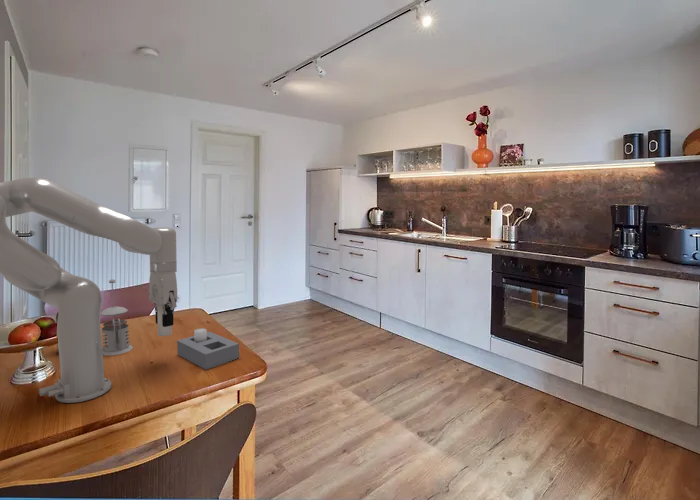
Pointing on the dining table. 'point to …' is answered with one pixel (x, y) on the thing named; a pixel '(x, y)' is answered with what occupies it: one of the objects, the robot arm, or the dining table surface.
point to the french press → (115, 331)
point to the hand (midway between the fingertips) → (164, 323)
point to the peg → (162, 330)
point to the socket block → (207, 349)
